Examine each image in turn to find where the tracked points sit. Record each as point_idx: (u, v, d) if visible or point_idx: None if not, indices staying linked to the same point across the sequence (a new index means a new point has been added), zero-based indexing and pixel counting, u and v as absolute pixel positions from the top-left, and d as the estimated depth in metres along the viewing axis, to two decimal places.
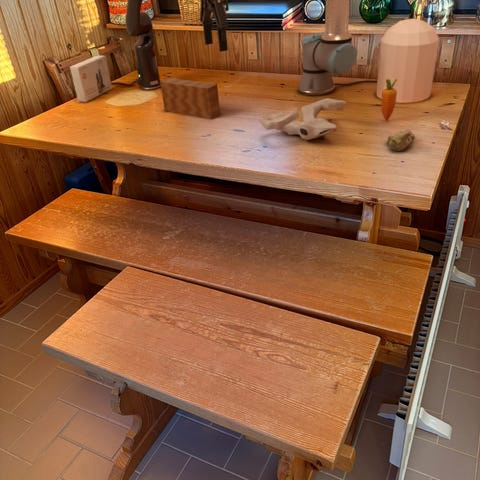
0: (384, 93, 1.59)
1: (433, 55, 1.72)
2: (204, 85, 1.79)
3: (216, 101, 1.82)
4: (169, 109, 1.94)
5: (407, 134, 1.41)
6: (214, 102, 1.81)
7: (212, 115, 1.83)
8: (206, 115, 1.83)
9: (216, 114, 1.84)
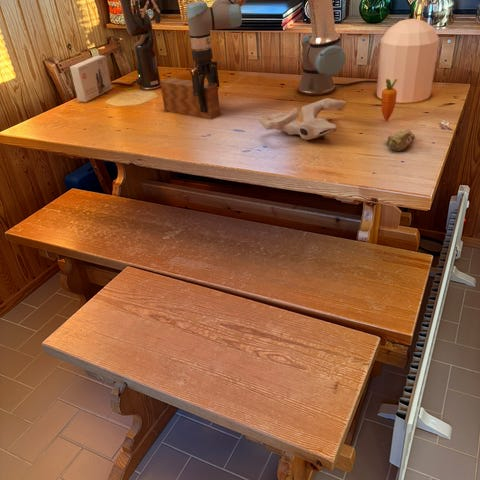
0: (384, 93, 1.59)
1: (433, 55, 1.72)
2: (204, 85, 1.79)
3: (216, 101, 1.82)
4: (169, 109, 1.94)
5: (407, 134, 1.41)
6: (214, 102, 1.81)
7: (212, 115, 1.83)
8: (206, 115, 1.83)
9: (216, 114, 1.84)
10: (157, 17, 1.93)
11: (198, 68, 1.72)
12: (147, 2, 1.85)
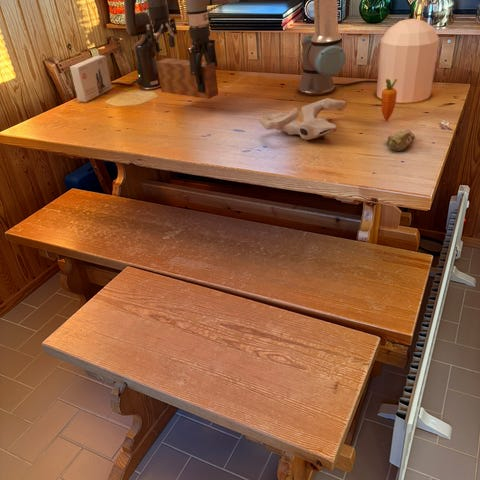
0: (384, 93, 1.59)
1: (433, 55, 1.72)
2: None
3: (214, 81, 1.78)
4: (166, 90, 1.89)
5: (407, 134, 1.41)
6: (212, 82, 1.77)
7: (210, 95, 1.78)
8: (204, 96, 1.79)
9: (214, 94, 1.80)
10: (171, 41, 1.84)
11: (195, 46, 1.68)
12: (161, 26, 1.76)
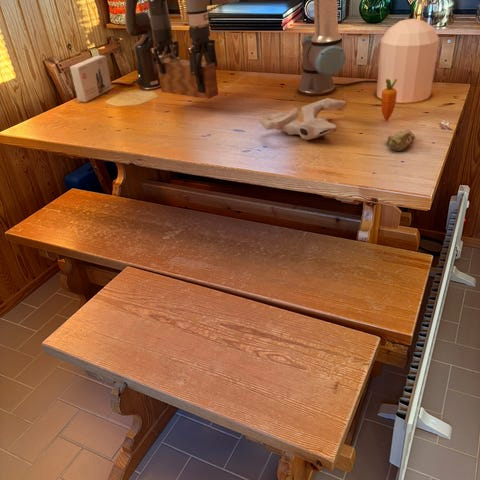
0: (384, 93, 1.59)
1: (433, 55, 1.72)
2: None
3: (214, 81, 1.78)
4: (166, 90, 1.89)
5: (407, 134, 1.41)
6: (212, 82, 1.77)
7: (210, 95, 1.78)
8: (204, 96, 1.79)
9: (214, 94, 1.80)
10: None
11: (195, 46, 1.68)
12: (165, 48, 1.80)
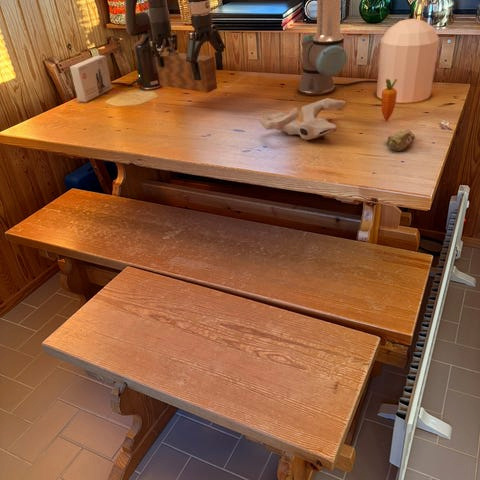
0: (384, 93, 1.59)
1: (433, 55, 1.72)
2: (200, 58, 1.73)
3: (213, 74, 1.77)
4: (165, 84, 1.88)
5: (407, 134, 1.41)
6: (211, 76, 1.76)
7: (209, 89, 1.77)
8: (202, 89, 1.78)
9: (213, 88, 1.79)
10: None
11: (197, 33, 1.64)
12: (164, 41, 1.78)
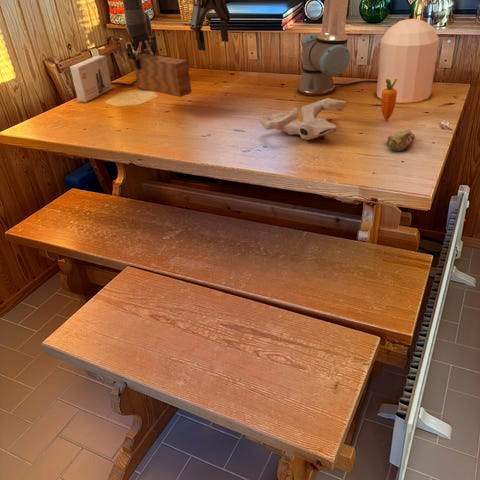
0: (384, 93, 1.59)
1: (433, 55, 1.72)
2: (173, 61, 1.71)
3: (186, 78, 1.74)
4: (142, 86, 1.86)
5: (407, 134, 1.41)
6: (184, 79, 1.73)
7: (181, 93, 1.74)
8: (175, 93, 1.75)
9: (186, 92, 1.76)
10: None
11: None
12: (140, 43, 1.77)
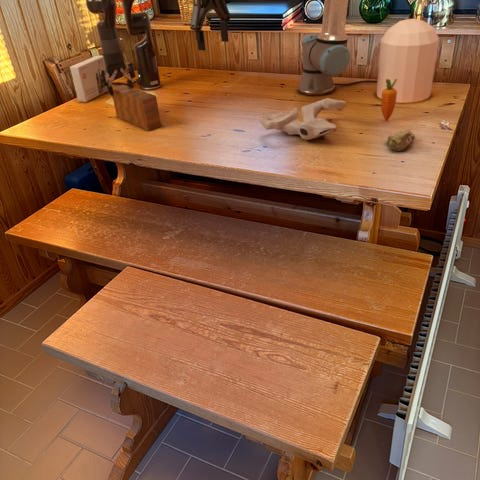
0: (384, 93, 1.59)
1: (433, 55, 1.72)
2: (143, 96, 1.74)
3: (155, 113, 1.76)
4: (120, 116, 1.91)
5: (407, 134, 1.41)
6: (153, 114, 1.76)
7: (150, 127, 1.77)
8: (145, 127, 1.78)
9: (156, 126, 1.79)
10: (129, 84, 1.88)
11: None
12: (115, 71, 1.80)
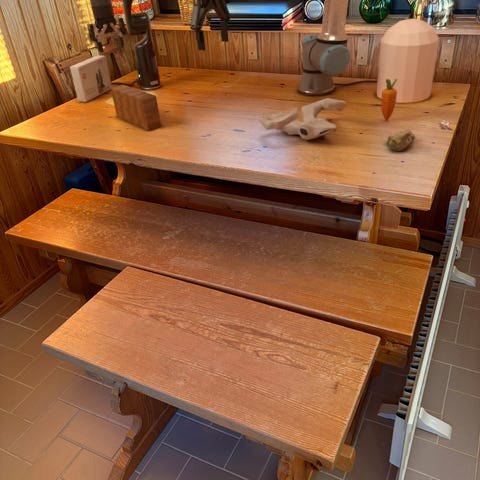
0: (384, 93, 1.59)
1: (433, 55, 1.72)
2: (143, 96, 1.74)
3: (155, 113, 1.76)
4: (120, 116, 1.91)
5: (407, 134, 1.41)
6: (153, 114, 1.76)
7: (150, 127, 1.77)
8: (145, 127, 1.78)
9: (156, 126, 1.79)
10: (120, 41, 1.78)
11: None
12: (104, 26, 1.71)
